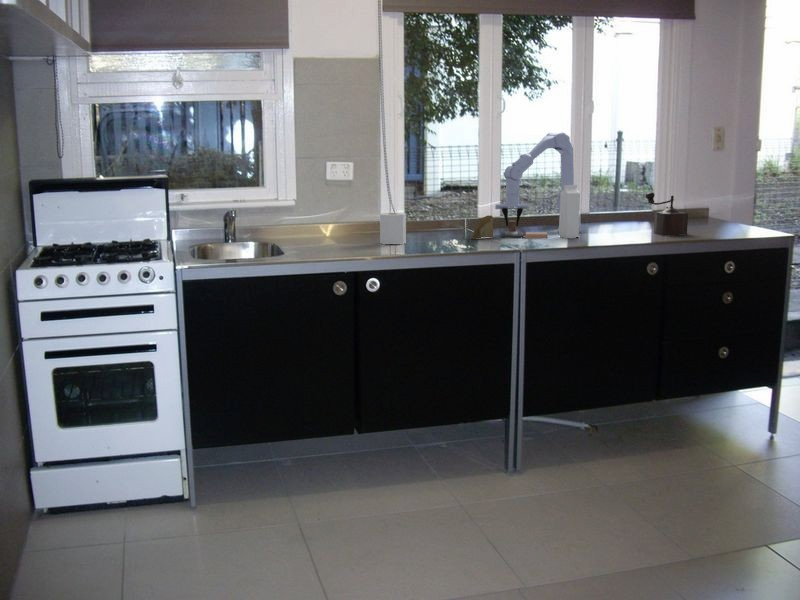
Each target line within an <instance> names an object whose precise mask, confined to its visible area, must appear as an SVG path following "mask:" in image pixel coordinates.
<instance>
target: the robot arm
mask: <svg viewBox="0 0 800 600" xmlns="http://www.w3.org/2000/svg"><path fill="white" fill-rule="evenodd" d="M570 139H571V137H570V136H569V135H568V134H566V133H565V132H551V131H550V132H548V133H547V134H546V135H545V136H543V137H542V138H541V140H540V141H539V142H538V143H537V144H536V145H535V146H534V147H533V148H532V149H531V151H529V152H528V153H523V154H520V155H519V158H518V159H517V160H516V161H514V162H512V163H511V165H510V166H509V165H508V166H507V167H506V168H505V169H504V172H503V176H504V178H505V203H501V204H500V203H498V204H497V203H496V204H495V207H494V208H495V210H501V212H502V214H503V217H504V221H505V227H509V219H508V218H509V210H516V227H519V222H520V218H521V217H522V214H523V211H524V210H530V209H531V208H530V204H526V203H525V204H523V203H522V204H521V203H520V185H521V183H520V181H521V180H520V179H522V178H523V174H524V172H526V171H527V170H528V169H529V168H530V167H531V166H533V164H534V160H535V159H536V158H538V157H539V156H540V155H541V154H542V153H544V152H545V151H546V150H547V149H552V150H553V149H554V150H555V151H557V153H559V154H560V188H561V190H559V192H558V193H557V194H558V196H557V199H556V206H557V208H558V211H559V212H560V192H561V191H562V190H563V189H564V185H575V184H574V183H575V182H574V181H575V180H574V179H575V178H574V177H575V176H574V173H575V169H574V146H573V144H572V143H571V140H570ZM581 213H582V212H581V211H580V214H579V233H581V228H582V224H581V222H582V221H581V219H582V217H581ZM558 217H559V218H558V219H559V222H558V223H559V224H558V225H559V226H558V228H557V231H558V233H559V227H560V215H559V216H558Z"/></svg>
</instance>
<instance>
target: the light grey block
mask: <svg viewBox="0 0 800 600" xmlns="http://www.w3.org/2000/svg"><path fill="white" fill-rule="evenodd" d="M406 216H407V214H406V213H404V212H383V213H380V214H379V231H380V232H379V234H380V235H379V240H380V241H379V244H381V243H382V244H381V245H385V244H400V245H405V244H406V243H407V223H406V222H407V217H406ZM404 243H405V244H404Z"/></svg>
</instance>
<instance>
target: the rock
mask: <svg viewBox="0 0 800 600" xmlns="http://www.w3.org/2000/svg"><path fill="white" fill-rule="evenodd" d="M493 226H494V218H493V215H492V214H491V215H486V216H484V217H482V218H480V219H479V222H478V224H477V226H476V227H475V228H474V230H473V234H472V237H471V239H472V240H477V239H476V238H481V237H493V238H494V230H493V229H494V228H493Z"/></svg>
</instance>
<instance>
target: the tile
mask: <svg viewBox="0 0 800 600" xmlns="http://www.w3.org/2000/svg"><path fill="white" fill-rule="evenodd" d="M529 238H547V239H548V232H547V231H525V239H529Z"/></svg>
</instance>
